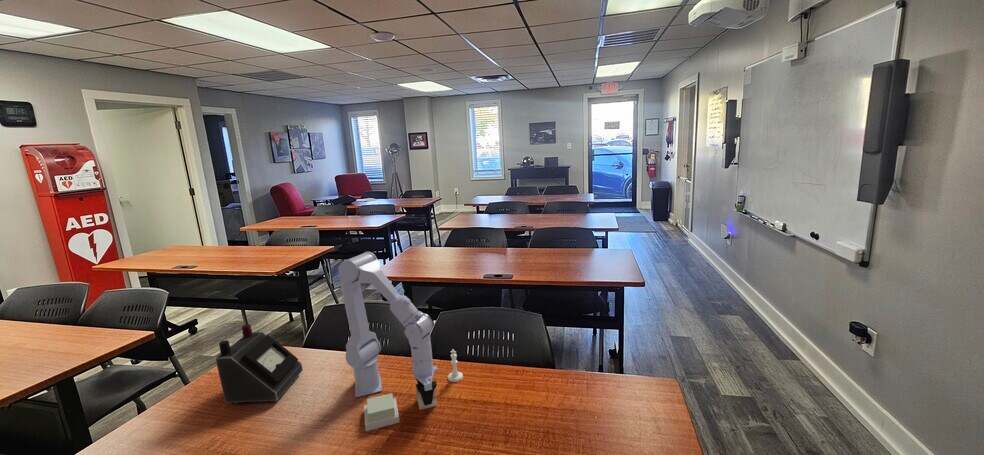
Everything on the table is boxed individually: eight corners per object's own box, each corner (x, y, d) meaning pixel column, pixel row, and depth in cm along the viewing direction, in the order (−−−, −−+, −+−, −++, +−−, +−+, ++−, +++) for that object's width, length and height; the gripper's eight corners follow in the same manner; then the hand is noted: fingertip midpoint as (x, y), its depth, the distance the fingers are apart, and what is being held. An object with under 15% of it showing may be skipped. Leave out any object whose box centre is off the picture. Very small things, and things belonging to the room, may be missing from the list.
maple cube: (417, 399, 120) (415, 385, 119) (433, 395, 122) (432, 380, 120) (419, 410, 115) (418, 394, 114) (436, 405, 117) (435, 390, 116)
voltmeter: (279, 404, 122) (267, 344, 118) (226, 406, 122) (212, 346, 118) (304, 374, 138) (294, 320, 133) (257, 375, 138) (246, 322, 134)
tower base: (365, 413, 117) (364, 405, 116) (396, 405, 119) (395, 397, 119) (366, 433, 108) (364, 425, 108) (399, 424, 111) (398, 416, 110)
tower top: (368, 406, 115) (367, 398, 115) (393, 400, 117) (392, 393, 117) (368, 422, 109) (367, 414, 108) (395, 415, 111) (394, 407, 110)
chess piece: (460, 382, 127) (458, 354, 125) (446, 381, 128) (443, 353, 126) (464, 373, 132) (462, 346, 130) (450, 372, 133) (448, 345, 131)
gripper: (441, 366, 110) (445, 409, 113) (431, 342, 123) (435, 381, 126) (415, 372, 108) (420, 416, 111) (407, 347, 121) (412, 387, 124)
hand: (426, 398), depth 118 cm, fingers closed on maple cube, 5 cm apart
